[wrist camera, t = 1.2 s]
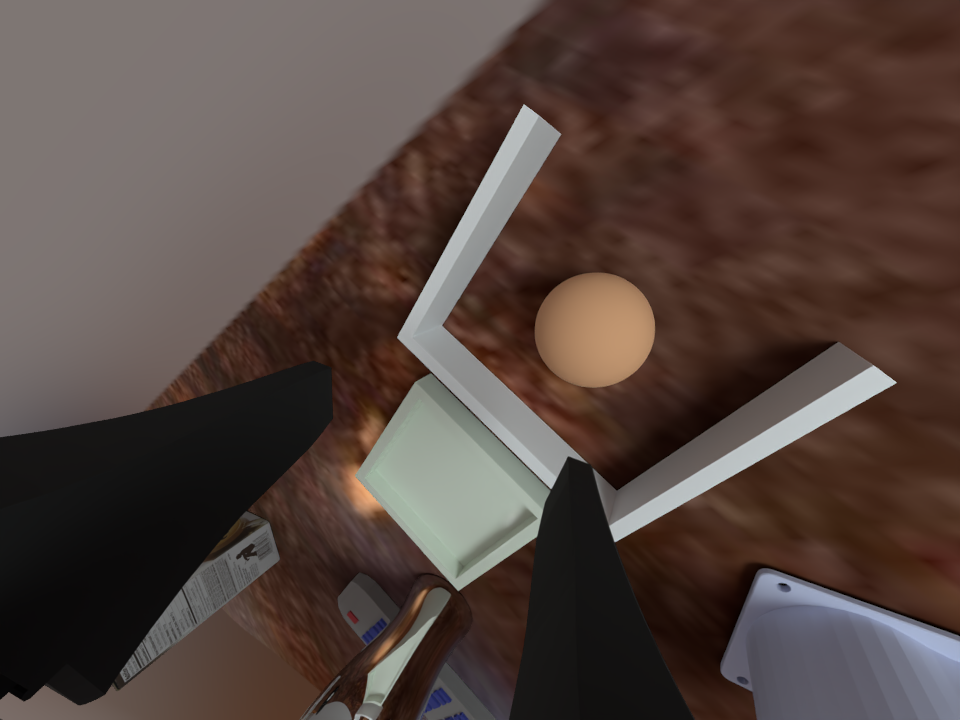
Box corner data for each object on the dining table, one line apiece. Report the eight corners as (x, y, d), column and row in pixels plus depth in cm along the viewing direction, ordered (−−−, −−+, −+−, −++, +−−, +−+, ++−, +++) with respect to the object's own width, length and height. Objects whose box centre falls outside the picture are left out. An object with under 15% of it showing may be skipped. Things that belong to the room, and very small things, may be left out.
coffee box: (242, 539, 50) (82, 650, 37) (229, 501, 48) (55, 603, 35) (282, 561, 46) (116, 696, 32) (269, 520, 44) (87, 645, 30)
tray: (431, 373, 24) (415, 381, 23) (564, 504, 22) (556, 523, 21) (370, 464, 30) (354, 475, 29) (469, 573, 28) (457, 591, 27)
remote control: (488, 758, 37) (478, 786, 35) (344, 590, 41) (328, 607, 39) (532, 750, 33) (523, 781, 31) (366, 564, 37) (349, 581, 35)
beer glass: (402, 563, 33) (229, 765, 20) (463, 576, 29) (298, 835, 16) (425, 624, 34) (275, 852, 21) (486, 645, 30) (349, 934, 18)
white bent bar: (548, 124, 16) (523, 104, 14) (857, 355, 14) (896, 382, 11) (427, 326, 23) (397, 337, 21) (617, 507, 20) (608, 545, 18)
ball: (668, 272, 16) (663, 285, 12) (647, 375, 17) (636, 419, 13) (558, 264, 18) (521, 273, 14) (549, 357, 20) (514, 390, 15)
